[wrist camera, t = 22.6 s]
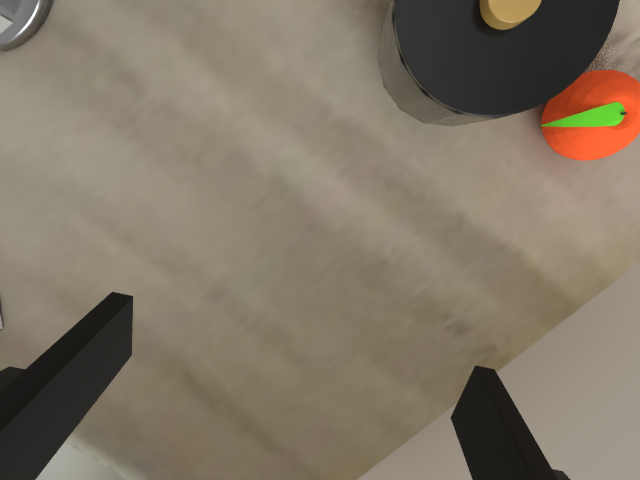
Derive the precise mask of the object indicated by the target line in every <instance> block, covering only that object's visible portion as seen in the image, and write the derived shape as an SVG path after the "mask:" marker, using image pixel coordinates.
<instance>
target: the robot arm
mask: <svg viewBox="0 0 640 480" xmlns="http://www.w3.org/2000/svg"><path fill="white" fill-rule="evenodd" d="M51 4H52V0H0V52H2V51H7V50H10V49H13V48H15V47H18V46H20V45H21V44H23V43H25V42H26V41H27V40H29V39H30V38H31V37H32V36H33V35H34V34H35V33H36V32H37V31H38V30H39V28H40V27H41V26H42V24H43V22H44V21H45V19H46V17H47V15H48V13H49V10H50V7H51ZM132 321H133V296H130V295H125V294H120V293H115V292H112V293H110V294H109V295H108V296H107V297H106V298H105V299H104V300H103V301H102V302H100V303H99V304H98V305H97V306H96V307H95V308H94V309H93V310H91V311H90V312H89V313H88V314H87V315H86V316H85V317H84V318H83V319H81V320H80V321H79V322H78V323H77V324H76V325H75V326H74V327H72V328H71V329H70V330H69V331H68V332H67V333H66V334H65V335H63V336H62V337H61V338H60V339H59V340H58V341H57V342H56V343H55V344H53V345H52V346H51V347H50V348H49V349H48V350H47V351H46V352H44V353H43V354H42V355H41V356H40V357H39V358H38V359H37V360H36V361H34V362H33V363H32V364H31V365H30V366H29V367H28V368H27V369H20V368H15V367H8V368H6V369H4V370H2V371H0V480H35V479H36V478H37V477H38V475H39V474H40V473H41V472H42V470H43V469H44V468H45V466H46V465H47V464H48V463H49V461H50V460H51V459H52V457H53V456H54V455H55V454H56V452H57V451H58V449H59V448H60V447H61V446H62V444H63V443H64V442H65V441H66V439H67V438H68V437H69V435H70V434H71V433H72V432H73V430H74V429H75V428H76V426H77V425H78V424H79V423H80V421H81V420H82V419H83V417H84V416H85V415H86V414H87V412H88V411H89V410H90V408H91V407H92V406H93V404H94V403H95V402H96V401H97V399H98V398H99V397H100V395H101V394H102V393H103V392H104V390H105V389H106V388H107V386H108V385H109V384H110V383H111V381H112V380H113V379H114V377H115V376H116V375H117V374H118V372H119V371H120V370H121V368H122V367H123V366H124V364H125V363H126V362H127V361H128V359H129V358H130V357H131V355H132ZM451 420H452V422H453V425H454V428H455V431H456V434H457V437H458V439H459V442H460V445H461V448H462V450H463V454H464V456H465V459H466V462H467V465H468V468H469V471H470V473H471V476H472V479H473V480H570V479H569V478H568V477H567V475H566V474H565V473H564V472H563V471H558V470H553V469H551V467H550V465H549V463H548V462H547V460H546V458H545V457H544V455H543V453H542V451H541V449H540V448H539V446H538V444H537V442H536V441H535V439H534V437H533V436H532V434H531V432H530V430H529V429H528V427H527V425H526V423H525V422H524V420H523V418H522V416H521V415H520V413H519V411H518V409H517V408H516V406H515V404H514V402H513V401H512V399H511V397H510V396H509V394H508V392H507V390H506V389H505V387H504V385H503V383H502V382H501V380H500V378H499V376H498V375H497V373H496V371H495V369H490V368H485V367H480V366H475V367H474V369H473V371H472V374H471V376H470V378H469V380H468V382H467V384H466V386H465V388H464V390H463V393H462V395H461V397H460V399H459V401H458V403H457V405H456V407H455V410H454V412H453V414H452V416H451Z"/></svg>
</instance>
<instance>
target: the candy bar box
mask: <svg viewBox="0 0 640 480" xmlns="http://www.w3.org/2000/svg"><path fill="white" fill-rule="evenodd" d="M1 329H3V317H2V313H1V307H0V330H1Z"/></svg>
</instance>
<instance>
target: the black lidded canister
mask: <svg viewBox="0 0 640 480" xmlns="http://www.w3.org/2000/svg"><path fill="white" fill-rule="evenodd" d="M619 1H620V0H390V2H389V5H388V8H387V12H386V15H385V18H384V22H383V25H382V30H381V36H380V43H379V50H378V62H379V66H380V71H381V75H382V80H383V84H384V87H385V88H386V90H387V91H388V93H389V94H390V96H391V97H392V98H393V100H394V101H395V103H396V104H397V105H398V107H399V108H400V109H401V110H402V111H404V112H406V113H407V114H409V115H411V116H413V117H414V118H416V119H418V120H419V121H421V122H423V123H428V124H437V125H445V126H454V125H460V124H467V123H473V122H479V121H485V120H492V119H497V118H501V117H504V116H508V115H512V114H516V113H520V112H523V111H526V110H529V109H533V108H536V107H538V106H539V105H541V104H543V103H545V102H547V101H549V100H550V99H552V98H554V97H555V96H557V95H558V94H560V93H561V92H562V91H564V90H565V89H566V88H567V87H569V86H570V85H571V84H572V83H573V82H574V81H575V80H576V79H577V78H578V77H579V76H580V75H581V74H582V73H583V72H584V71H585V70H586V69H587V68H588V66H589V65H590V64H591V62H592V61H593V60H594V59H595V57H596V56H597V54H598V52H599V51H600V49H601V48H602V46H603V44H604V42H605V40H606V38H607V36H608V34H609V32H610V30H611V28H612V25H613V22H614V19H615V16H616V14H617V10H618V5H619Z"/></svg>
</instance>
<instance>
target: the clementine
mask: <svg viewBox="0 0 640 480" xmlns="http://www.w3.org/2000/svg"><path fill="white" fill-rule="evenodd" d="M540 126H542V131H543V135H544V137H545V139H546V141H547V143H548V145H549V146H550V147H551V148H552V149H553V150H554V151H555V152H557V153H559V154H561V155H562V156H564V157H568V158H571V159H576V160H595V159H600V158H604V157H607V156H610V155H612V154H614V153H616V152H617V151H619V150H621V149H623V148H624V147H626V146H627V145H628V144H629V143H631V142H632V141H633V140H634V139H635V138H636V137H637V135H638V134H639V133H640V83H639V82H638V81H637V80H636V79H634V78H633V77H631V76H629V75H627V74H625V73H623V72H619V71H615V70H599V71H590V72H587V73H584V74H581V75H580V76H579V77H578V78H577V79H576V80H575V81H574V82H573V83H572V84H571V85H570V86H569V87H567V88H566V89H565V90H564V91H562V92H561V93H560V94H558V95H557V96H555V97H554V98H552V99H550V100H549V101H548V103H547V105H546V107H545V109H544V112H543V115H542V124H541V125H540Z"/></svg>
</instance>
